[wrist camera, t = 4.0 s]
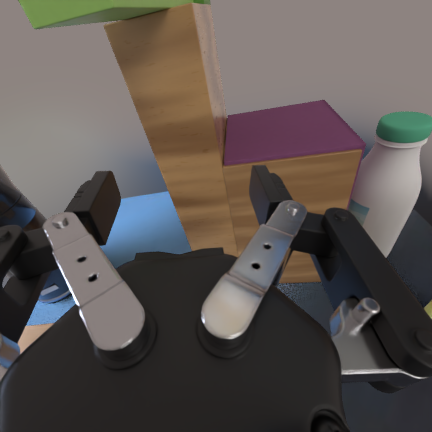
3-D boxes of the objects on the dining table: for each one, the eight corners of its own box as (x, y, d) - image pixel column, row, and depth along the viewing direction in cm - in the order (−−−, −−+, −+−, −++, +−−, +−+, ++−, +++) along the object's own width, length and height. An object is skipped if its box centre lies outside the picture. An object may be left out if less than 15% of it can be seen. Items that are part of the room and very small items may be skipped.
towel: (343, 227, 25) (366, 143, 19) (236, 234, 28) (223, 162, 21) (315, 169, 35) (324, 99, 28) (236, 178, 37) (227, 115, 30)
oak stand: (326, 281, 33) (418, -56, 11) (205, 286, 36) (102, 25, 15) (306, 219, 42) (336, -28, 21) (212, 227, 45) (155, 18, 24)
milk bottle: (387, 233, 37) (449, 103, 24) (389, 271, 32) (469, 135, 19) (334, 224, 40) (363, 106, 27) (329, 258, 35) (361, 134, 22)
